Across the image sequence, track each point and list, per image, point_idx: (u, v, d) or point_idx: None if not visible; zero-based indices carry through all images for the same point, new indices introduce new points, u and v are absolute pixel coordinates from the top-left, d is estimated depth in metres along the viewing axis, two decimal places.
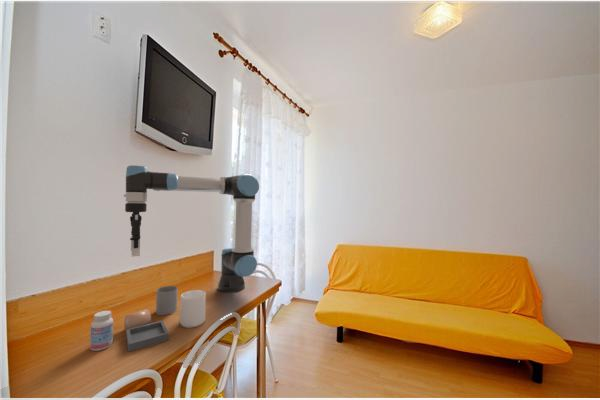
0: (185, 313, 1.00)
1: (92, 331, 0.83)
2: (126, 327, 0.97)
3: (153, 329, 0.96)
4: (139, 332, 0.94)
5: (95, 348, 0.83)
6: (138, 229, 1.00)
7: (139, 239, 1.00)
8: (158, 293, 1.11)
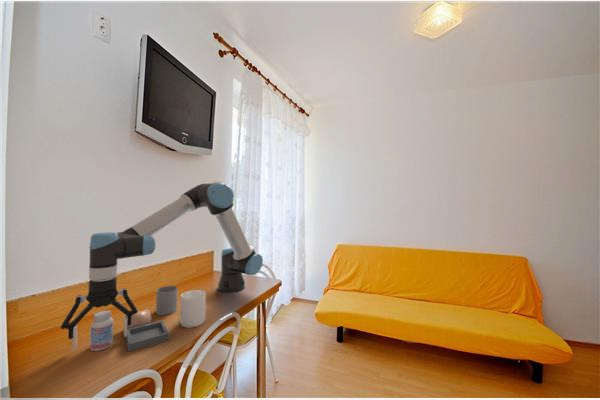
0: (185, 313, 1.00)
1: (92, 331, 0.83)
2: None
3: (153, 329, 0.96)
4: (139, 332, 0.94)
5: (95, 348, 0.83)
6: (67, 316, 0.80)
7: (69, 329, 0.80)
8: (158, 293, 1.11)
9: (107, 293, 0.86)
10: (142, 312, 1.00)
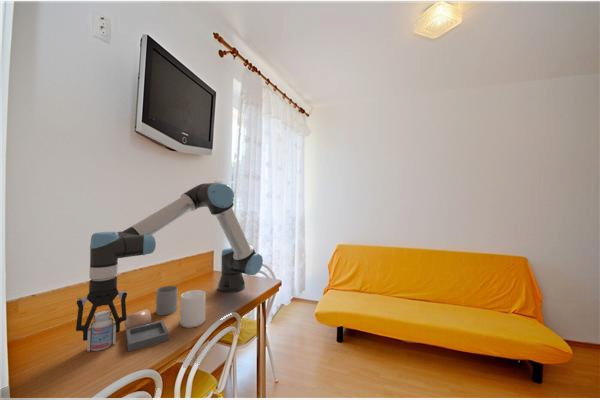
0: (185, 313, 1.00)
1: (92, 331, 0.83)
2: (126, 327, 0.97)
3: (153, 329, 0.96)
4: (139, 332, 0.94)
5: (95, 348, 0.83)
6: (77, 319, 0.82)
7: (84, 331, 0.83)
8: (158, 293, 1.11)
9: (109, 290, 0.86)
10: (142, 312, 1.00)
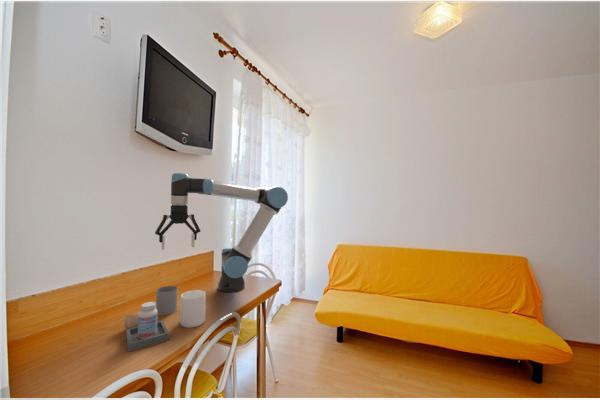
0: (185, 313, 1.00)
1: (140, 320, 0.89)
2: (126, 327, 0.97)
3: None
4: None
5: (143, 336, 0.89)
6: (159, 226, 1.19)
7: (160, 235, 1.19)
8: (158, 293, 1.11)
9: (182, 215, 1.25)
10: None
